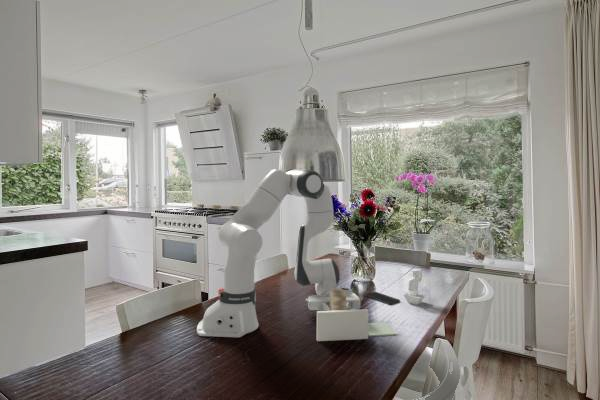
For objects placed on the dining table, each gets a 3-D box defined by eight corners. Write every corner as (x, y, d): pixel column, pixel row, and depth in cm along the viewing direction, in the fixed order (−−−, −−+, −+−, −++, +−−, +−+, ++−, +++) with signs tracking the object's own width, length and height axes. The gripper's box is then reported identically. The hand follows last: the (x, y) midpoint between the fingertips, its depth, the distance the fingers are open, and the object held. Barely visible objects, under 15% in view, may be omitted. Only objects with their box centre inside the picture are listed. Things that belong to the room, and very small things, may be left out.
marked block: (332, 332, 130) (332, 294, 129) (329, 326, 135) (329, 290, 134) (345, 332, 130) (346, 294, 129) (342, 326, 136) (342, 289, 135)
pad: (369, 336, 127) (369, 335, 127) (361, 324, 137) (361, 323, 137) (396, 335, 128) (396, 333, 128) (386, 323, 138) (386, 322, 138)
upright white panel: (317, 341, 123) (317, 312, 122) (316, 339, 125) (316, 311, 124) (368, 338, 125) (368, 310, 125) (366, 336, 127) (367, 309, 126)
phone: (374, 291, 174) (400, 300, 163) (374, 293, 174) (400, 302, 163) (363, 294, 169) (389, 303, 158) (363, 297, 169) (389, 306, 158)
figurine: (402, 303, 161) (402, 270, 160) (411, 298, 168) (412, 266, 166) (417, 307, 156) (418, 273, 155) (426, 301, 162) (428, 269, 161)
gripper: (304, 290, 144) (310, 302, 130) (354, 288, 146) (364, 300, 132) (304, 305, 144) (309, 319, 130) (354, 303, 147) (364, 317, 133)
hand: (338, 309), depth 131 cm, fingers closed on marked block, 5 cm apart
